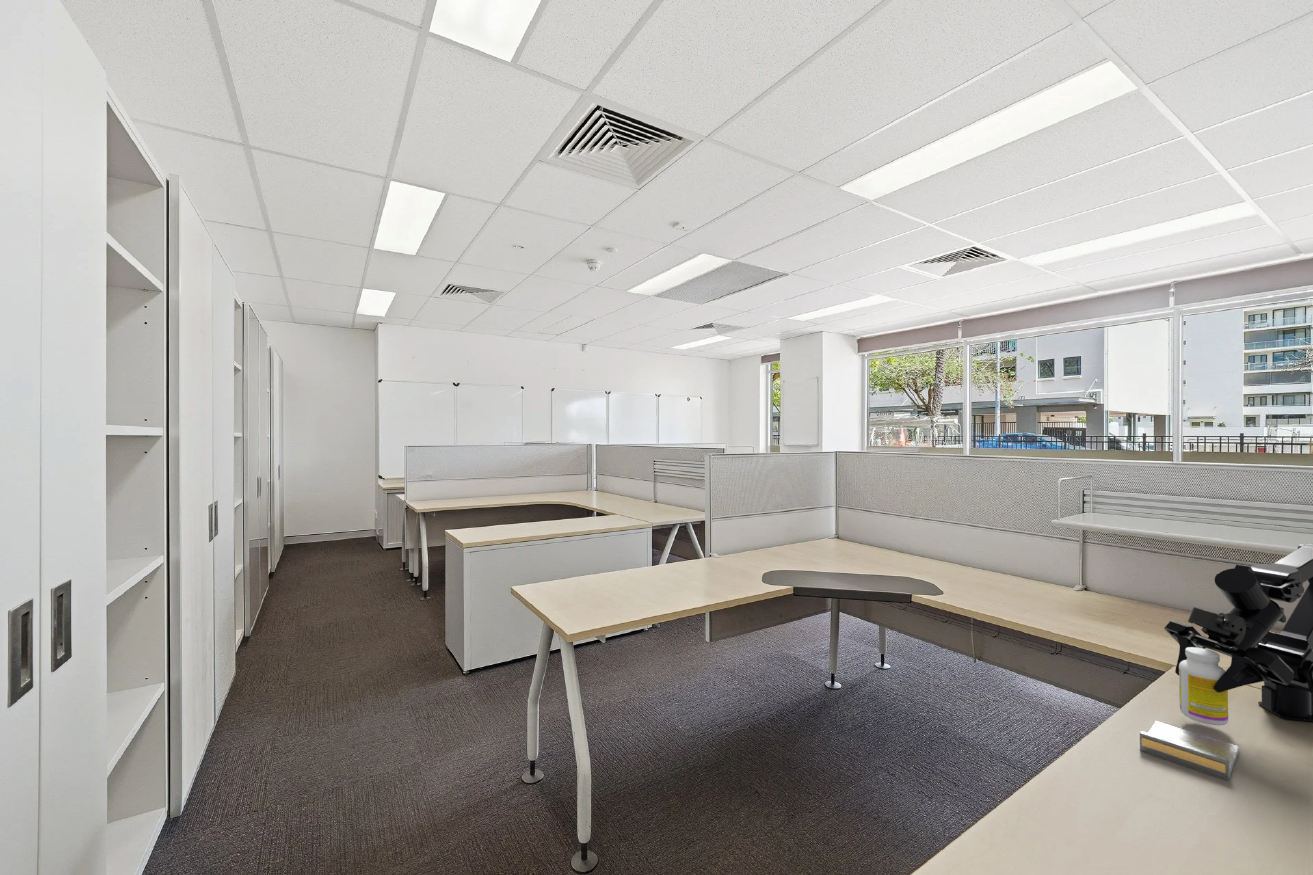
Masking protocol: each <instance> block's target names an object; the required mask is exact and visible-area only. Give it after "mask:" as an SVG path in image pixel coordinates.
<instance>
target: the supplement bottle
mask: <svg viewBox="0 0 1313 875" xmlns="http://www.w3.org/2000/svg"><path fill="white" fill-rule="evenodd" d="M1185 654H1186V657H1187V660H1183V661H1181V662H1180V664H1179V675H1178V677H1179V678H1178V679H1179V680H1178V682H1179V685H1178V686H1179V691H1178V692H1179V710H1180V712H1181V714H1183V715H1184V717H1186V718H1189V719H1190V720H1193V721H1194V722H1195V721H1196V722H1198V723H1202V724H1206V725H1210V726H1225V725H1227V724H1228V723H1229V695H1228V694H1229V693H1228V691H1229V690H1227V691H1223V692H1220V693H1218V692H1216V691H1215V690H1214V689H1213V688H1214V686H1215V684H1216V683H1217V681H1218V680H1219V679H1220V678H1221V676H1222V675H1223V674H1224V673H1225V672H1226V670H1225V669H1224V668H1223V667H1221V666H1219V664H1220V663H1219V662H1221V661H1220V660H1221V658H1220V657H1221V655H1220V653H1219V652H1217V651H1214V650H1211V649H1208V648H1206V649H1203V648H1196V647H1187V648H1186V650H1185Z"/></svg>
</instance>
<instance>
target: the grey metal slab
mask: <svg viewBox="0 0 1313 875" xmlns="http://www.w3.org/2000/svg"><path fill="white" fill-rule="evenodd" d="M1239 749H1240V748H1239V745H1236V744H1234V743H1233V744H1232V743H1229V742H1226V741H1224V740H1221V739H1216V738H1213V737H1210V736H1206V735H1204V734H1200V733H1198V732H1194V731H1190V730H1187V729H1183V728H1180V727H1178V726H1177V727H1176V726H1173V725H1170V724H1167V723H1164V722H1161V721H1157V720H1155V722H1154V724H1153V725H1152V727H1150V729H1149V731H1148V732H1146V731H1142V730H1140V731H1139V752H1143V753H1146V754H1148V755H1152V756H1155V757H1158V758H1161V759H1164V760H1167V761H1170V762H1173V763H1176V764H1178V765H1182V766H1185V767H1186V768H1190V769H1193V770H1196V771H1199V772H1202V773H1204V774H1208V775H1211V776H1213V777H1217V778H1218V779H1222V780H1225V781H1229V780H1230V778H1231V776H1232V775H1231V774H1232V771H1233V768H1234V766H1235V763H1236V761H1237V759H1238V758H1237V757H1238V755H1239V751H1240V750H1239Z"/></svg>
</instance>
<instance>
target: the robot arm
mask: <svg viewBox="0 0 1313 875" xmlns="http://www.w3.org/2000/svg"><path fill="white" fill-rule="evenodd" d="M1305 582H1308V585H1307V587H1306V589H1305V588H1304V585H1303V584H1304V583H1305ZM1214 584H1215V585H1216V587H1217V588H1218V589H1219V590H1220V592H1221V594H1222V595H1223V596H1224V598H1225V599H1226V601H1227V602H1228V603H1229V604H1230V605H1231V606H1232V607H1233V608H1232V609H1231V610H1230V611H1229V612H1228V613H1223V612H1220V613H1215V612H1212V611H1208V610H1205V609H1202V608H1199V607H1196V606H1194V607H1193V608H1192V610H1191V612H1190V615H1189V617H1188V620H1187V622H1188V623H1190V624H1187V623H1184V622H1180V621H1177V620H1170V621H1169V622H1168V623H1167V624H1166V625H1165V626H1164V628H1163V629H1164V631H1165V632H1166V633H1167V634H1169V636H1171V637H1172V639H1174V641H1176V643H1178V646H1179V649H1178V650H1179V651H1178V657H1177V661H1176V665H1175V670H1174V671H1175V674H1176V675H1177V676H1179V664H1180V662H1181V661H1183V660H1187V657H1186V654H1185V650H1186V648H1187V647H1196V648H1203V649H1207V650H1211V651H1214V652H1216V653H1218V654H1223V655H1225V656H1228V657H1231V662H1230V666H1229V667H1228V668H1227V669H1226V670H1225V671H1226V672H1225V673H1224V674H1223V675H1222V676H1221V678H1220V679H1219V680H1218V681H1217V683H1216V684H1215V686H1214V688H1213V689H1214V690H1215V691H1216V692H1218V693H1220V692H1223V691H1227V690H1228V691H1229V690H1230V691H1231V690H1233V689H1237V688H1239V687H1240V688H1241V687H1244V686H1247V685H1252V684H1257V683H1261V682H1262V683H1263V685H1261V700H1260V701H1259V700H1258V701H1257V703H1258V705H1259V706H1261V707H1262V708H1265V709H1266V710H1267V711H1269V712H1271V713H1272V714H1274V715H1276V716H1278V717H1279V718H1281V719H1283V720H1290V721H1302V722H1312V723H1313V543H1310V542H1309V543H1308V542H1306V543H1300V544H1298V547H1297V549H1295V550H1293V551H1292V552H1291V553H1289V554H1288V555H1285V556H1284V557H1283V558H1281V559H1279V560H1277V561H1276V562H1274V563H1268V564H1262V563H1261V564H1256V565H1251V566H1250V565H1244V564H1239V563H1238V564H1236V565H1235V566H1234V567H1233V568H1228V569H1224V570H1222V571H1220V572H1219V573H1216V574H1215V576H1214ZM1299 598H1300V599H1299ZM1298 599H1299V600H1298ZM1276 601H1279V602H1283V603H1290V604H1292V603H1295V602H1296V601H1298V602H1297V603H1296V605H1295V607H1294V609H1293V611H1292V612H1291V614H1290V616H1289V618H1287V616H1286V614H1285V611H1284V610H1285V609H1284V608H1283V607H1282V606H1280V605H1279V604H1278V603H1277V602H1276ZM1278 622H1280V623H1283V624H1284V626H1283V628H1282V629H1281V631H1279V632H1278V633H1277V632H1273V631H1271V629H1272V628H1274V626H1275V625H1276V624H1277V623H1278ZM1191 624H1194V625H1195V626H1196V625H1197V626H1198V627H1201V629H1200V631H1202V633H1204V635H1207V637H1206V636H1203V635H1201V634H1200V632H1199V631H1198V630H1197V629H1196V628H1195V627H1194V626H1192V625H1191Z"/></svg>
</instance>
